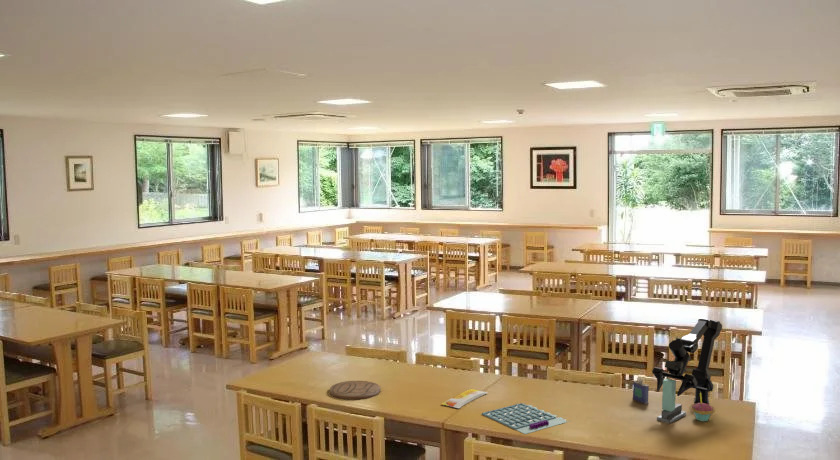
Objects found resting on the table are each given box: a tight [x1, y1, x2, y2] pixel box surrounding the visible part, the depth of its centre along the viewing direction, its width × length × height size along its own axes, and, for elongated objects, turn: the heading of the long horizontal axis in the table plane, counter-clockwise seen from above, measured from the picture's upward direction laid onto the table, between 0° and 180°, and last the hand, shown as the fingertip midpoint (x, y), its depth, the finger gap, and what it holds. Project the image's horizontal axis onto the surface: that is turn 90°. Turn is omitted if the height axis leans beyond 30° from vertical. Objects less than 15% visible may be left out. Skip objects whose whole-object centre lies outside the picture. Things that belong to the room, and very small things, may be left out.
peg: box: [661, 377, 677, 412], centre depth 307 cm, size 4×4×13 cm
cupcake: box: [692, 392, 715, 422], centre depth 308 cm, size 9×8×12 cm
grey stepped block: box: [656, 402, 687, 425], centre depth 310 cm, size 15×6×4 cm, turn 134°
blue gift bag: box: [632, 379, 650, 406], centre depth 331 cm, size 9×3×11 cm, turn 25°
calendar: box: [481, 402, 571, 435], centre depth 310 cm, size 27×28×2 cm
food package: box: [440, 388, 489, 409], centre depth 335 cm, size 27×2×10 cm
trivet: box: [329, 380, 381, 401], centre depth 347 cm, size 25×25×2 cm
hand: (667, 393), depth 306 cm, fingers open, 9 cm apart
